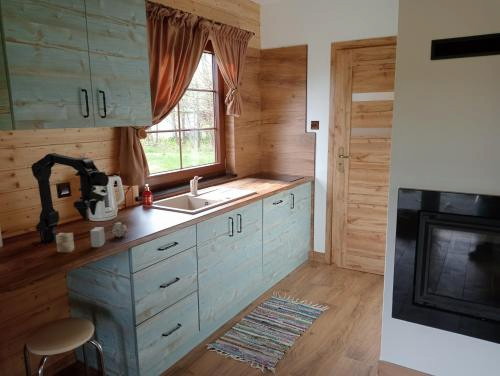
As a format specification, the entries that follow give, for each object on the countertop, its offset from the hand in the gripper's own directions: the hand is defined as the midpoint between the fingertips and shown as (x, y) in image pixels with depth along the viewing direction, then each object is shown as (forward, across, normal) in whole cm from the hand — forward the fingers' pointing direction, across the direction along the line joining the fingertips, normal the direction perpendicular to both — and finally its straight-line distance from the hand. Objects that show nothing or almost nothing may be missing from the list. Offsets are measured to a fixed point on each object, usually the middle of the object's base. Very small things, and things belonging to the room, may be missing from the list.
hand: (89, 217), depth 195 cm
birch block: (+14, -7, +9) cm, 18 cm away
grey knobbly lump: (+14, +12, -9) cm, 21 cm away
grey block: (+14, 0, -3) cm, 14 cm away
